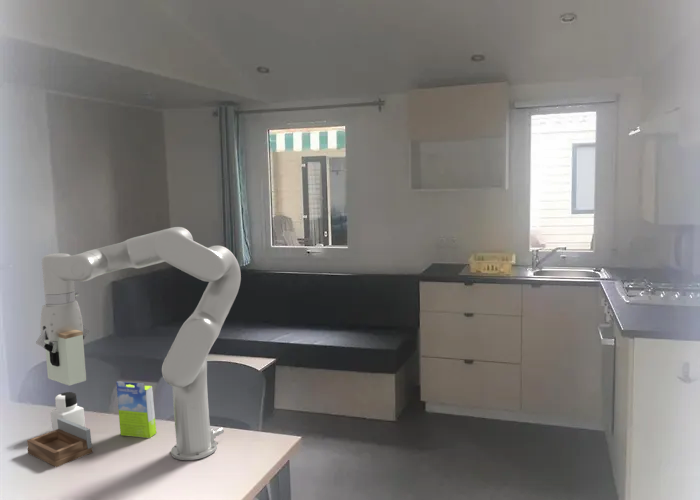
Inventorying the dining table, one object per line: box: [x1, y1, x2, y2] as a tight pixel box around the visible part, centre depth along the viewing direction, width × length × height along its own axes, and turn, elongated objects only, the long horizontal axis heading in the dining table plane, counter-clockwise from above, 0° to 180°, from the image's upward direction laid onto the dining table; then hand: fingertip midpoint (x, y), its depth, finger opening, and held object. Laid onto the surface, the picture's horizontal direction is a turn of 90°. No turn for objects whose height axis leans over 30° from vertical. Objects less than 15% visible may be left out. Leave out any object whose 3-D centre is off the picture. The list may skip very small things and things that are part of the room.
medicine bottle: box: [50, 391, 86, 431], centre depth 192 cm, size 7×7×12 cm
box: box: [115, 381, 157, 439], centre depth 187 cm, size 10×4×17 cm, turn 74°
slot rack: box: [26, 418, 93, 468], centre depth 177 cm, size 11×16×7 cm
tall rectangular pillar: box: [44, 330, 87, 386], centre depth 170 cm, size 5×11×14 cm, turn 54°
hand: (65, 362), depth 170 cm, fingers closed on tall rectangular pillar, 5 cm apart
